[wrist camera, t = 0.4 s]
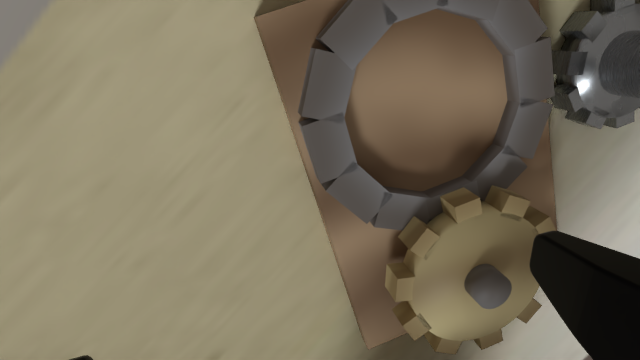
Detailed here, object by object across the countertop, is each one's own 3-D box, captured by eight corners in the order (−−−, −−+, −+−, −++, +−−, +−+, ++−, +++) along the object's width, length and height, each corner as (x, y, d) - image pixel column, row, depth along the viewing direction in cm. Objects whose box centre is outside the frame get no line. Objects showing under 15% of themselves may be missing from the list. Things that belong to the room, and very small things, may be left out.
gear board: (547, 269, 28) (609, 313, 24) (365, 346, 27) (394, 409, 23) (515, -69, 20) (599, -96, 16) (253, 17, 19) (264, 13, 15)
